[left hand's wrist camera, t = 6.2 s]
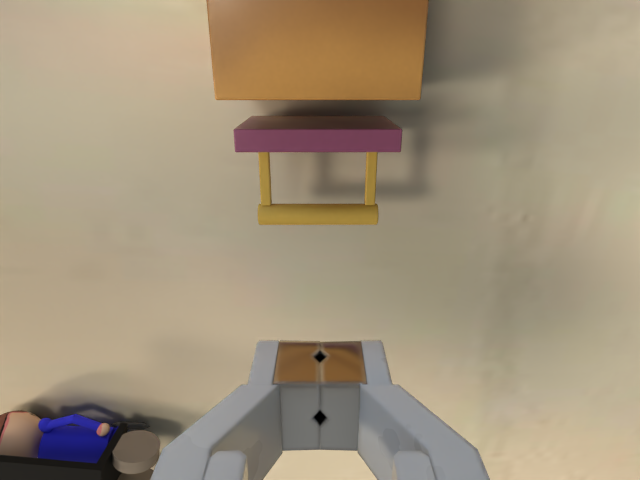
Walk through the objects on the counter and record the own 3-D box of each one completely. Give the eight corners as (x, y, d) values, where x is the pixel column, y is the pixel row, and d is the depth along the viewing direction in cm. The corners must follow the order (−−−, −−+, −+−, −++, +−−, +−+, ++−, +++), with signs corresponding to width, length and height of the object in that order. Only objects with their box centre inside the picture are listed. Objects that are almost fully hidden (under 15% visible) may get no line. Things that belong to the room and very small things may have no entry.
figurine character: (172, 397, 40) (-8, 389, 37) (153, 469, 33) (-71, 465, 30) (169, 450, 42) (0, 446, 39) (150, 528, 35) (-56, 528, 33)
